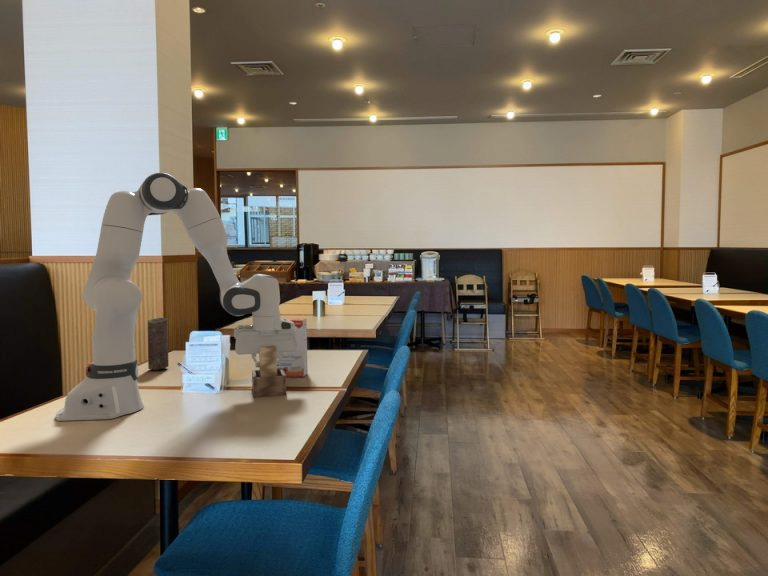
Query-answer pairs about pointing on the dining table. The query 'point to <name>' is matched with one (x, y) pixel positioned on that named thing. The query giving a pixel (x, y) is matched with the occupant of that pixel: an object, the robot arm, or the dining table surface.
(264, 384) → the caddy
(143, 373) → the dining table surface
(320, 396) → the dining table surface
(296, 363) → the cracker box
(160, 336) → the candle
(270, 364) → the oak block
